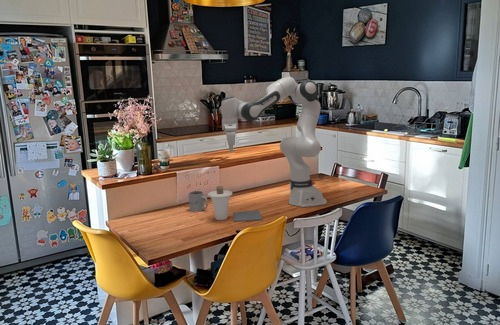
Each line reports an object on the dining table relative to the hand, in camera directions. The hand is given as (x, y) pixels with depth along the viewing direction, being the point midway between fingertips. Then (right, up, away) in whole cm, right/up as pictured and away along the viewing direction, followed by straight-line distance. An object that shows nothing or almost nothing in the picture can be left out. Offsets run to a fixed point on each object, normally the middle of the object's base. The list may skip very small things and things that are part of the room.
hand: (231, 151), depth 240 cm
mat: (+9, -36, -7) cm, 38 cm away
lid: (-5, -24, -11) cm, 27 cm away
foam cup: (-5, -37, -8) cm, 38 cm away
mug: (-19, -34, +8) cm, 40 cm away
